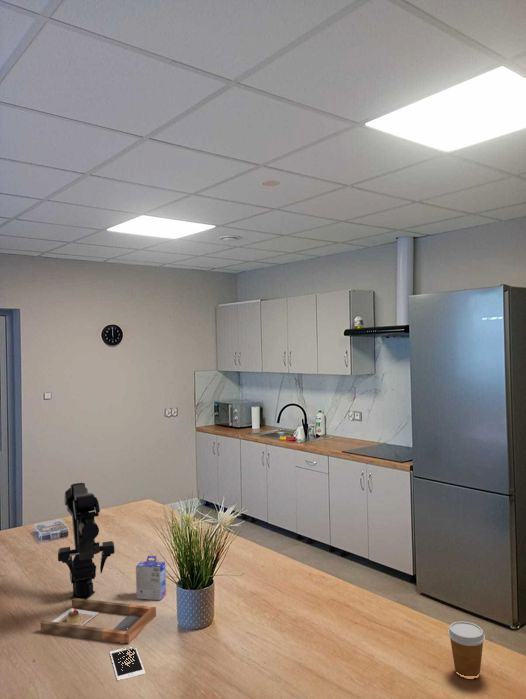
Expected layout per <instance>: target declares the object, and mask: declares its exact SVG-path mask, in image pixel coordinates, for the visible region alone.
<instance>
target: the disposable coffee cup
mask: <svg viewBox="0 0 526 699" xmlns="http://www.w3.org/2000/svg"><path fill="white" fill-rule="evenodd" d="M447 633H448V636H449V638H450V639H449V640H450V645H451V651H452V652H451V653H452V657H453V659H452V660H453V664H454V671H455V670H456V672H458V673H459V674H461V675H464V676H477V675H478V674H479V673H480V674H481V667H482V656H483V645H484V642H485V640H486V634H485V633H484V630H483V629H482V628H481V627H480V626H479V625H477V624H476V623H473V622H469V621H455V622H452V623H451V624H450V625H449V628H448V630H447ZM456 672H455V673H456Z"/></svg>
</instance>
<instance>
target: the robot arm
mask: <svg viewBox="0 0 526 699" xmlns="http://www.w3.org/2000/svg"><path fill="white" fill-rule="evenodd" d="M64 506H66V511H67V512H68V513H69V515H71V518H72V531H73V542H74V549H71V546H66V547H60V548H59V549H58V551H57V561H58V562H61V563H62V564H66V565H67V567H68V569H69V580H70V584H72V595H71V596H70V599H71V600H72V599H73V598H79V599H88V598H90V597H91V596H92V595H94V594H95V592H96V591H95V590H94V582H93V580H95V579H96V577H97V565H96V564H95V562H93V559H94V558H95V555H98V554H100V553H101V557H100V568H99V569H100V574H102V573H103V571H104V566H105V563H106V561H107V559H108V557H111V556H112V555H114V554H115V543H114V541H113V540H110V541H103V542H101V543H102V544H101V545H100V542H99V541H98V542H96V540H95V539H96V538H97V536H98V535H99V532H100V529H99V526H98V524H97V522H96V521H95V517H99V513H100V504H99V500H98V498H97V496H95V494H94V493H92V492H89V491H88V488H87V487H86V484H85V483H84V482H77V483H72V484H70V488H68V489H67V490H65V492H64ZM72 556H74V557H72Z"/></svg>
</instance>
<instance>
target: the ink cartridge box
mask: <svg viewBox="0 0 526 699" xmlns="http://www.w3.org/2000/svg"><path fill="white" fill-rule="evenodd" d="M151 559H152V560H151ZM135 575H136V576H135V580H136V581H135V582H136V583H135V585H136V587H135V588H136V599H140V600H154V601H162V599H163V598H164V597H165V596H166V595H167V582H166V581H167V579H166V577H167V576H166V575H167V573H166V562H165V561H157V556H156V555H147V557H146V561H143V560H142V561H140V562H139V563H137V565H135Z"/></svg>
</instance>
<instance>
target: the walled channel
mask: <svg viewBox="0 0 526 699" xmlns="http://www.w3.org/2000/svg"><path fill="white" fill-rule="evenodd" d="M71 608H73V609H79V610H86V611H92V612H98V613H100V612H101V613H107V612H108V614H110V613H111V614H116V613H119V615H124V614H128V615H126V617H125V618H123V619H122V621H120V622H119V623H118V624H117V625H116V626H115V627H113V629H109V628H103V627H96V626H95V627H94V626H87V625H83V626H81V625H82V624H80V625H79V624H74V623H73V624H69V623H64V622H59V621H58V622H52V621H49V620H42V621H41V622H40V632H41V633H45V634H46V633H47V634H52V635H61V636H68V637H74V638H81V639H82V638H83V639H90V640H94V641H95V640H96V641H102V642H109V643H111V642H112V643H117V642H120V643H119V644H124V643H128V644H127V645H130V644H131V643H130V642H131V641H132V640H133V639H136V637H138V636H139V634H141V632H142V631H143V630H144V629H145V628H146V627H147V626H148V625H149V624H150V623H151V622H152V621H153V620H154V619H155V618H154V617H157V607H156V606H147V605H138V604H131V603H121V602H114V601H113V602H112V601H104V600H96V599H95V600H94V599H88V598H87V599H79V598H73V599H72V598H71ZM153 618H154V619H153ZM151 620H152V621H151ZM150 621H151V622H150ZM149 622H150V623H149ZM148 623H149V624H148ZM147 624H148V625H147ZM146 625H147V626H146ZM145 626H146V627H145ZM144 627H145V628H144ZM127 628H128V629H127ZM143 628H144V629H143ZM141 630H142V631H141ZM133 641H134V640H133ZM133 641H132V642H133ZM129 643H130V644H129Z"/></svg>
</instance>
